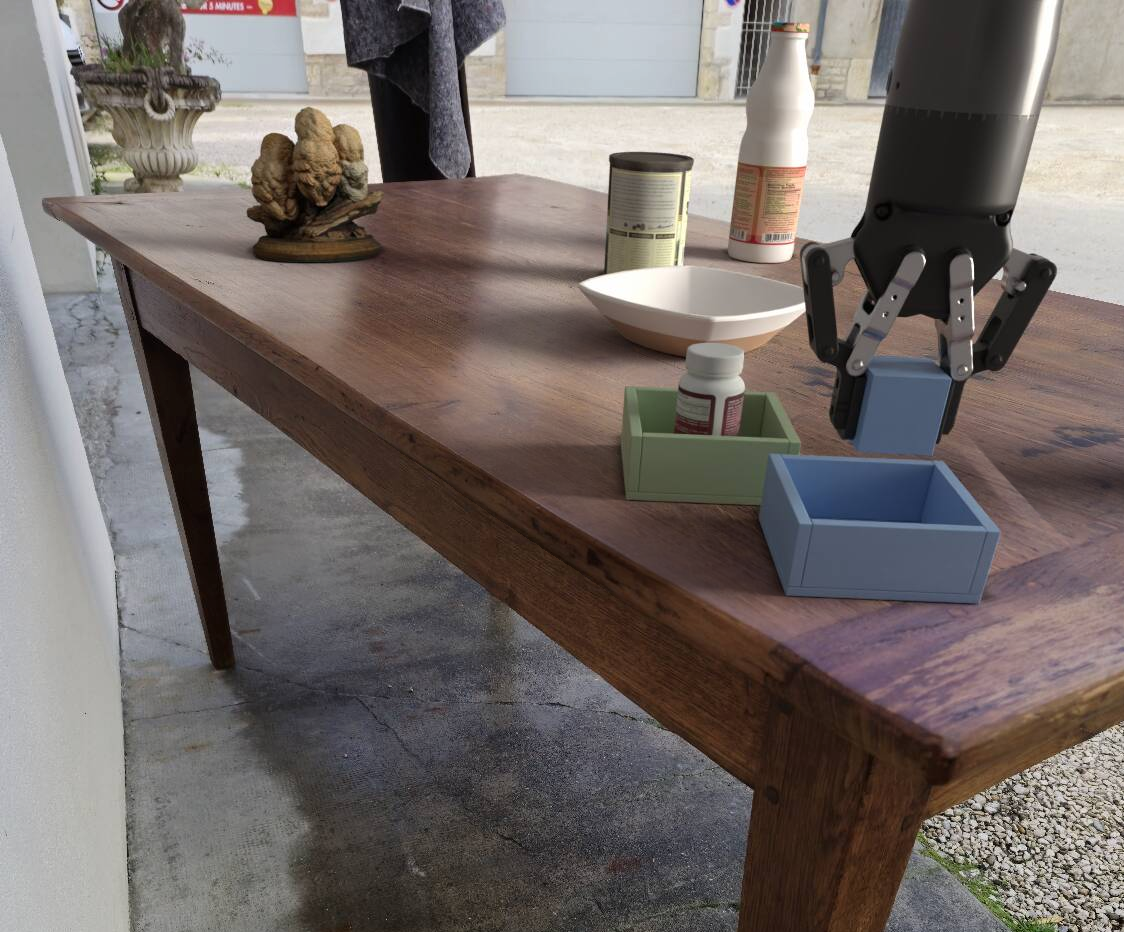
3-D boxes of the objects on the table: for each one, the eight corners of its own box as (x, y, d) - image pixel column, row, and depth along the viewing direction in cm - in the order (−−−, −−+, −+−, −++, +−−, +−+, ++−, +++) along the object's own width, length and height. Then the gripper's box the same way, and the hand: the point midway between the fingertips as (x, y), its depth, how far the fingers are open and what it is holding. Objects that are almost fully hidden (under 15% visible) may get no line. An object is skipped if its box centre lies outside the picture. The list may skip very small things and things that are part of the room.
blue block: (912, 431, 64) (930, 357, 61) (932, 456, 60) (952, 378, 58) (841, 428, 64) (856, 354, 61) (857, 452, 60) (873, 375, 58)
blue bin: (926, 526, 71) (943, 460, 69) (979, 604, 62) (1001, 531, 59) (758, 519, 71) (768, 453, 69) (785, 596, 62) (798, 523, 59)
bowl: (838, 348, 110) (847, 295, 107) (708, 383, 97) (715, 324, 94) (681, 308, 122) (686, 260, 119) (549, 335, 110) (550, 282, 107)
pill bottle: (721, 453, 80) (736, 339, 75) (743, 476, 76) (760, 357, 71) (662, 456, 79) (673, 340, 74) (681, 478, 75) (694, 359, 70)
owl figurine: (376, 244, 148) (368, 103, 138) (397, 260, 139) (390, 111, 129) (246, 248, 142) (228, 101, 132) (260, 265, 133) (241, 109, 123)
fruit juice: (716, 258, 149) (743, 20, 133) (741, 249, 156) (770, 21, 140) (777, 267, 146) (813, 23, 129) (801, 257, 152) (837, 24, 136)
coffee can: (591, 273, 137) (597, 150, 129) (663, 272, 140) (674, 151, 131) (618, 290, 129) (626, 161, 121) (694, 288, 132) (708, 161, 124)
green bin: (766, 450, 83) (775, 392, 80) (790, 507, 73) (801, 442, 71) (620, 444, 83) (624, 385, 80) (626, 500, 73) (630, 435, 70)
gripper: (836, 98, 49) (777, 454, 59) (1136, 114, 49) (1027, 466, 59) (807, 89, 55) (758, 413, 65) (1074, 103, 55) (985, 423, 65)
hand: (887, 436), depth 62 cm, fingers closed on blue block, 4 cm apart
